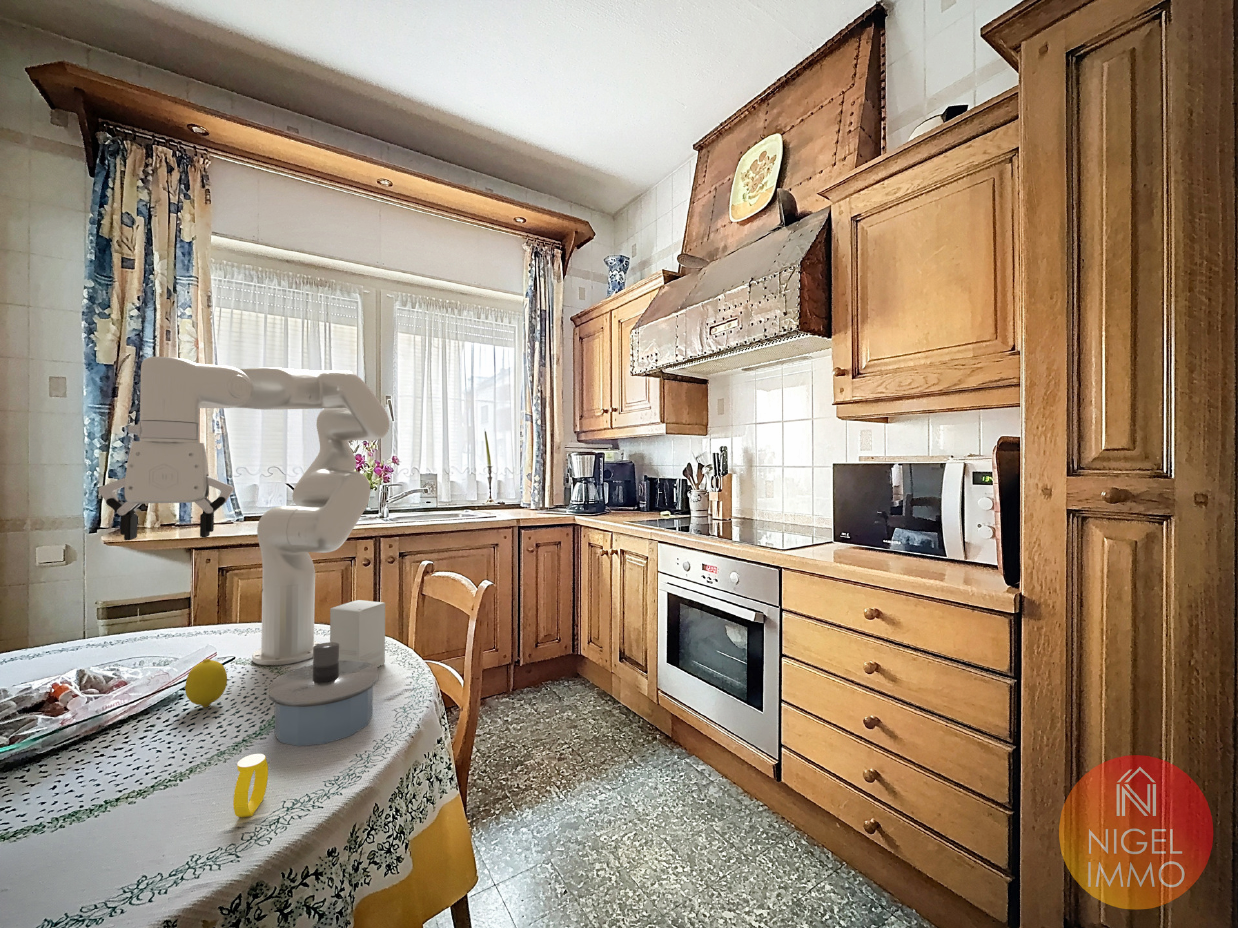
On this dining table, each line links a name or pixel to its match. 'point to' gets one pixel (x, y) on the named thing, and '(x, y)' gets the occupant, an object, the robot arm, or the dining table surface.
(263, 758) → the watch
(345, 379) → the robot arm
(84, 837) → the dining table surface
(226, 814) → the dining table surface
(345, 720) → the bowl
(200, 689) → the lemon
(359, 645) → the supplement box
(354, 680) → the lid
